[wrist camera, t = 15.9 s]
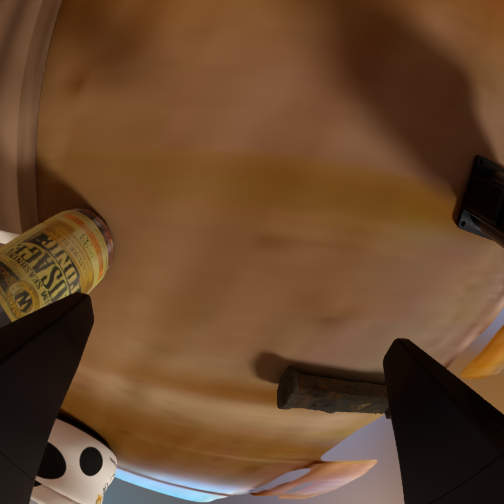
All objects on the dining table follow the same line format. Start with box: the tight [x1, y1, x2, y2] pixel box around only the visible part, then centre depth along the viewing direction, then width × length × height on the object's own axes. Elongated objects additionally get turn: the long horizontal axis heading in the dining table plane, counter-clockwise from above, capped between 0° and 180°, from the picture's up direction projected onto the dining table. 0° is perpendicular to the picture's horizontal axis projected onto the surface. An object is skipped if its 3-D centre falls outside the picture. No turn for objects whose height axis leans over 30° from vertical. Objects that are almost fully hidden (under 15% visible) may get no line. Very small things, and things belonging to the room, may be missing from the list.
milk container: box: [30, 417, 117, 504], centre depth 29 cm, size 17×17×18 cm
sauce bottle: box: [0, 208, 114, 328], centre depth 12 cm, size 6×6×20 cm
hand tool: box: [277, 366, 391, 419], centre depth 26 cm, size 19×4×5 cm, turn 70°
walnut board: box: [0, 0, 62, 247], centre depth 15 cm, size 7×32×3 cm, turn 170°
